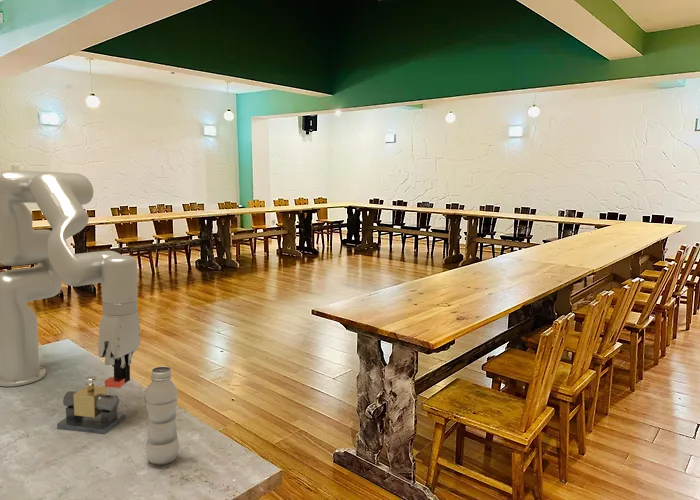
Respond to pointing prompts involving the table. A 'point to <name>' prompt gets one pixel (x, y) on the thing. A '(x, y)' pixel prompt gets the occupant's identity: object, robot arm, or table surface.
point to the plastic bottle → (161, 417)
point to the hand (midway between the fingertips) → (122, 381)
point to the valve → (91, 410)
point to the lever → (105, 381)
